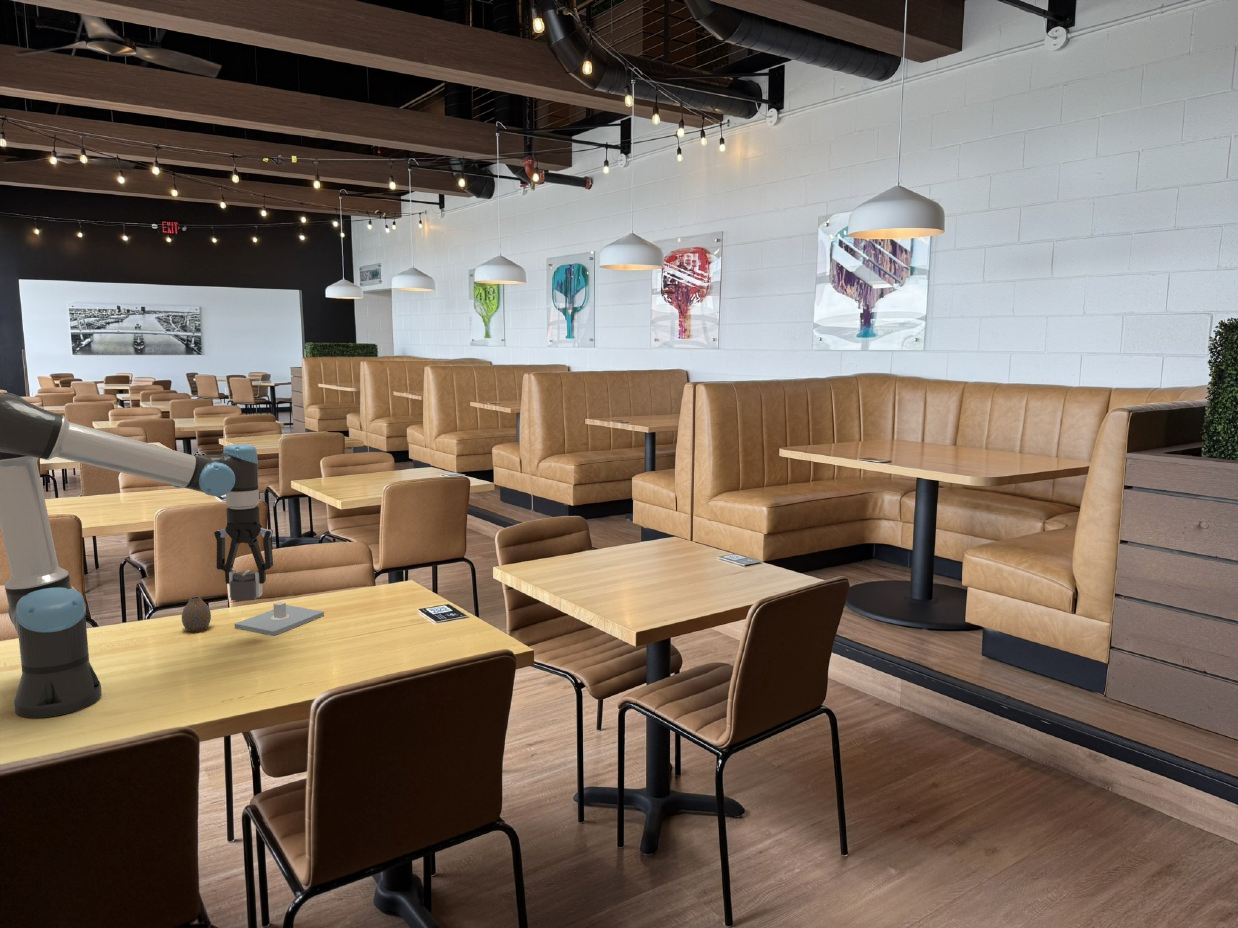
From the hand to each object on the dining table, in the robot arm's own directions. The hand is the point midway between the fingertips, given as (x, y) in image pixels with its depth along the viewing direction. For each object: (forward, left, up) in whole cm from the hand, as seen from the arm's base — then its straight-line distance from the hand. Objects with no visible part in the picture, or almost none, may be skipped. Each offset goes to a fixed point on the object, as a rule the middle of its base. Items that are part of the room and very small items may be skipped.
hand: (246, 595), depth 208 cm
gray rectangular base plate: (+14, +4, -12) cm, 19 cm away
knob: (0, 0, 0) cm, 0 cm away
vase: (0, +19, -12) cm, 22 cm away
